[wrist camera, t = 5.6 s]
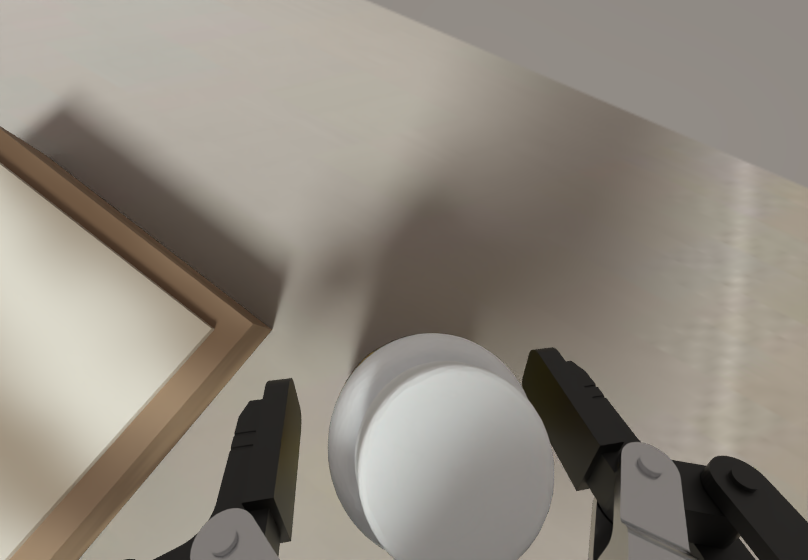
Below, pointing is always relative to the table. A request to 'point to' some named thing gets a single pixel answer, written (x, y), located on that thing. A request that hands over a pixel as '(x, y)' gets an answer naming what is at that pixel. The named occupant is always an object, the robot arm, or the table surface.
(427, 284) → the table surface
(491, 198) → the table surface
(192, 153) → the table surface
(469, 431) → the supplement bottle
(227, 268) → the table surface
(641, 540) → the robot arm
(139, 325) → the plinth
